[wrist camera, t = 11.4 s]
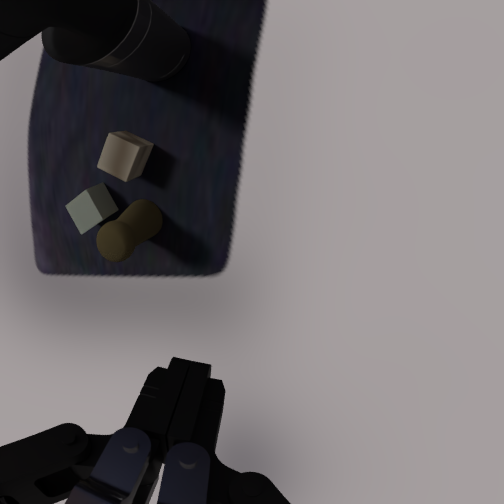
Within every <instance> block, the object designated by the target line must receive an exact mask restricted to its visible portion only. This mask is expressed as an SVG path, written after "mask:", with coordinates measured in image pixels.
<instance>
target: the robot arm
mask: <svg viewBox="0 0 504 504" xmlns="http://www.w3.org/2000/svg"><path fill="white" fill-rule="evenodd" d="M41 31H42V43H43V46H44V48H45V50H46V52H47V53H48V54H49V56H51V57H52V58H53V59H55V60H57V61H59V62H63V63H68V64H73V65H79V66H84V67H90V68H95V69H100V70H105V71H109V72H114V73H118V74H122V75H127V76H131V77H134V78H138V79H142V80H146V81H153V82H156V81H162V80H165V79H168V78H170V77H172V76H174V75H175V74H176V73H178V72H179V71H180V70H181V69H182V68H183V66H184V65H185V63H186V62H187V60H188V58H189V55H190V50H191V43H190V39H189V36H188V34H187V33H186V31H185V30H184V29H183V28H182V27H181V26H180V25H178V24H177V23H176V22H175V21H174V20H173V19H172V18H171V17H170V16H168V15H167V14H166V13H165V12H164V11H163V10H162V9H160V8H159V7H158V6H157V5H156V4H154V3H153V2H152V1H151V0H0V61H1V60H2V59H4V58H5V57H6V56H8V55H9V54H10V53H12V52H13V51H14V50H16V49H17V48H18V47H20V46H21V45H22V44H24V43H25V42H27V41H28V40H30V39H31V38H33V37H34V36H36V35H37V34H39V33H40V32H41ZM210 376H211V365H210V364H205V363H200V362H195V361H190V360H185V359H180V358H176V357H173V358H172V359H171V362H170V364H169V367H168V369H166V368H162V367H157V368H156V369H154V370H153V371H152V372H151V373H150V374H149V375H148V377H147V379H146V381H145V383H144V386H143V388H142V390H141V392H140V395H139V396H138V398H137V401H136V403H135V405H134V407H133V409H132V411H131V414H130V416H129V418H128V420H127V423H126V424H125V426H124V427H123V428H122V429H119V430H118V431H116V432H115V433H114V434H111V435H95V434H86V432H85V431H84V430H83V429H82V428H81V427H80V426H78V425H76V424H73V423H64V424H61V425H58V426H56V427H53V428H51V429H48V430H45V431H43V432H41V433H38V434H35V435H32V436H29V437H27V438H24V439H21V440H18V441H16V442H13V443H10V444H7V445H4V446H1V447H0V504H54V503H57V502H59V501H61V500H64V499H67V498H68V499H67V501H66V502H65V504H149V501H150V499H151V497H152V494H153V492H154V489H155V487H156V484H157V482H158V479H159V472H160V469H161V466H162V463H164V464H165V466H164V471H163V476H162V481H161V486H160V491H159V496H158V501H157V504H290V503H289V501H288V500H287V499H286V498H285V497H284V496H283V495H282V493H280V491H279V490H278V489H277V488H276V487H275V485H274V484H273V483H272V482H271V481H270V480H269V479H268V478H267V477H266V476H264V475H262V474H260V473H256V472H245V473H240V472H238V471H235V470H233V469H231V468H229V467H227V466H225V465H224V464H222V463H221V462H220V461H219V459H218V458H217V456H216V454H215V448H216V443H217V437H218V433H219V428H220V423H221V418H222V413H223V405H224V397H225V388H224V385H223V382H222V380H218V379H213V378H210Z"/></svg>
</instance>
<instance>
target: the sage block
mask: <svg viewBox="0 0 504 504" xmlns="http://www.w3.org/2000/svg"><path fill="white" fill-rule="evenodd" d="M66 208H67V210H68V212H69V214H70V215H71V217H72V219H73V221H74V222H75V224H76V226H77V228H78V229H79V231H80V233H81V235H82V234H83V233H85V232H86V231H88V230H89V229H91V228H92V227H94V226H95V225H97V224H98V223H100V222H101V221H103V220H104V219H106V218H107V217H109V216H110V215H112V214H113V213H115V212H116V211H118V210H119V209H118V208H117V206H116V204H115V202H114V201H113V199H112V197H111V195H110V193H109V192H108V190H107V188H106V186H105V184H104V183H100V184H98V185H96V186H93V187H91V188H89V189H86V190H85V191H84V192H82V193H81V194H80V195H79V196H77V197H76V198H75V199H74V200H72V201H71V202H70V203H69V204H68V205H66Z"/></svg>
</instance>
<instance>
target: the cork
mask: <svg viewBox="0 0 504 504" xmlns="http://www.w3.org/2000/svg"><path fill="white" fill-rule="evenodd" d="M161 226H162V214H161V211H160V210H159V208H158V207H157V206H156V205H155V204H154V203H153V202H151V201H149V200H145V199H140V200H136V201H135V202H133V203H132V204H131V205H130V206H129V207H128V208H127V209H126V210H125V211H124V212H123V213H122V214H121V215H120V216H119V217H118V219H117V220H114V221H110V222H107V223H106V224H104V225H103V226H102V227H101V228H100V230H99V232H98V234H97V247H98V250H99V252H100V253H101V255H102V256H103V257H105V258H106V259H108V260H110V261H113V262H120V261H124V260H126V259H127V258H129V257H130V256H131V254H132V253H133V251H134V249H135V246H137V245H139V244H140V243H142V242H144V241H146V240H147V239H149V238H151V237H153V236H154V235H156V234H157V233H158V232H159V231H160V229H161Z"/></svg>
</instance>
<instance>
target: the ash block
mask: <svg viewBox="0 0 504 504" xmlns="http://www.w3.org/2000/svg"><path fill="white" fill-rule="evenodd" d="M153 145H154V144H153V143H151V142H149V141H147V140H144V139H142V138H140V137H138V136H136V135H134V134H132V133H129V132H127V131H120V132H112V133H109V135H108V137H107V140H106V143H105V145H104V148H103V151H102V154H101V157H100V160H99V163H98V166H97V167H98V168H100V169H102V170H104V171H106V172H108V173H110V174H112V175H113V176H115V177H117V178H119V179H121V180H123V181H125V182H127V181H129V180H132V179H134V178H136V177H138V176H141V174H142V172H143V169H144V167H145V164H146V162H147V160H148V157H149V155H150V152H151V150H152V148H153Z"/></svg>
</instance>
